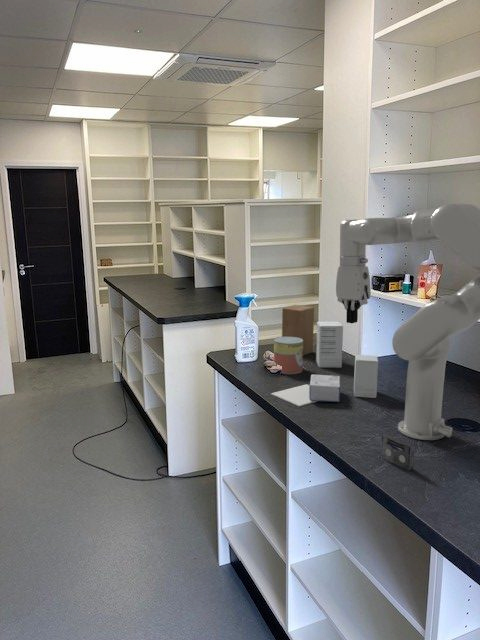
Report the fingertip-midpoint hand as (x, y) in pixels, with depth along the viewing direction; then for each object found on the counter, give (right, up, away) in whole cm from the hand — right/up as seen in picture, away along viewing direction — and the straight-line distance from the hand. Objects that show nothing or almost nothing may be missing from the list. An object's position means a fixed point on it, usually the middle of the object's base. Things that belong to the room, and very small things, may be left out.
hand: (351, 322), depth 157 cm
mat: (-13, -24, +16) cm, 32 cm away
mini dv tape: (+4, -34, -31) cm, 47 cm away
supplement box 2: (+8, -24, +17) cm, 31 cm away
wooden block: (-9, -14, +69) cm, 71 cm away
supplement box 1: (+2, -17, +51) cm, 54 cm away
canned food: (-15, -19, +44) cm, 50 cm away
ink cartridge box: (-7, -23, +8) cm, 25 cm away
